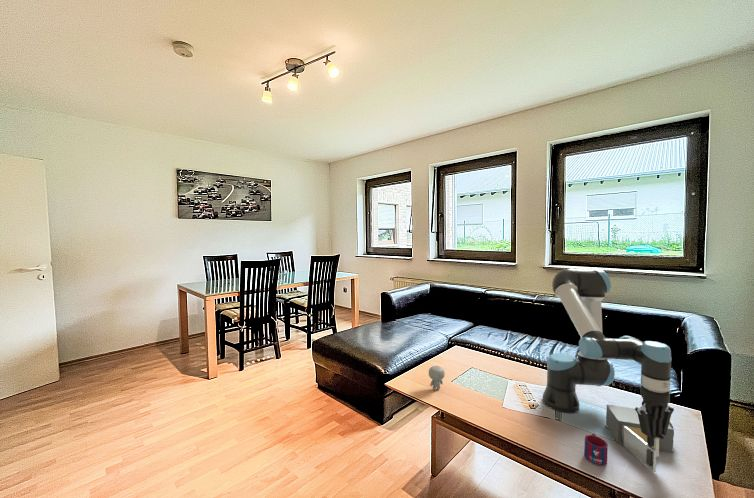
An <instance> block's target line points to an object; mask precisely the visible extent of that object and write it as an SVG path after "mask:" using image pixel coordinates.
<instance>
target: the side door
mask: <svg viewBox="0 0 754 498" xmlns="http://www.w3.org/2000/svg"><path fill="white" fill-rule="evenodd" d="M621 445H622V446H623V447H625V448H626V450H627V451H629V452H630V453H631V454H632V455H634V456H635V458H637V459H638V460H639V461H640V462H641V463H642V464H643V465H645V466H646V467H647V468H648V469H650V470H651V472H652V473H657V470H656V468H657V457H656V452H657V451H656V450H655V449H654V448H653V447H651V446H650V445H649V444H647V443H646V442H645V441H644V440H643V439H641V438H640V437H639V436H638V435H636V434H635V433H634V432H633V431H631V430H630V429H629V428H628V427H626V426H625V425H622V444H621Z"/></svg>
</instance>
